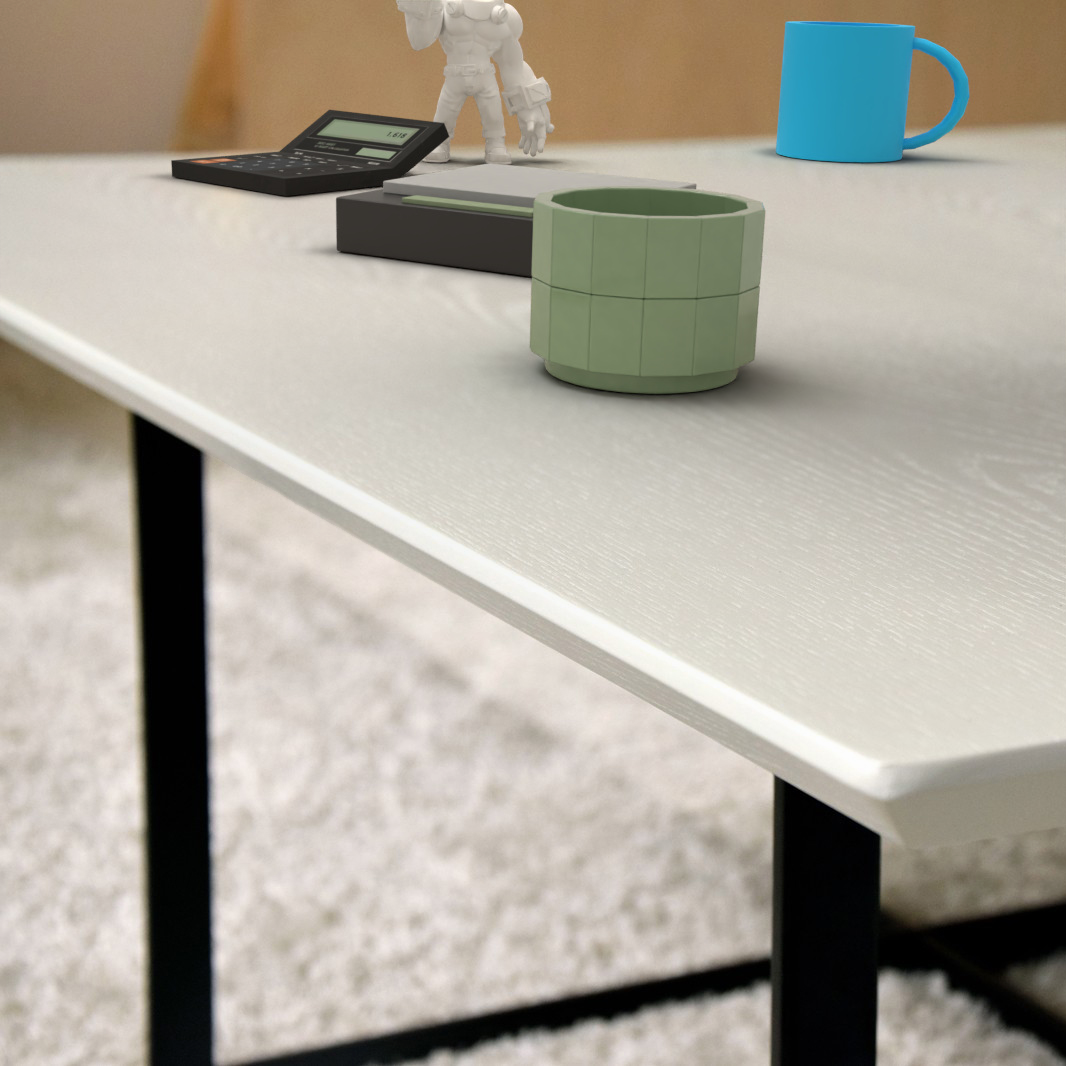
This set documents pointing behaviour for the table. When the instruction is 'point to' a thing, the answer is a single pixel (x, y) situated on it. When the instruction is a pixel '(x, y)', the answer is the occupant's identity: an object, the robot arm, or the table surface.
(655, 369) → the pot
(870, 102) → the mug
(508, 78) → the figurine
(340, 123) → the calculator
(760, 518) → the table surface
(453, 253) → the scale
